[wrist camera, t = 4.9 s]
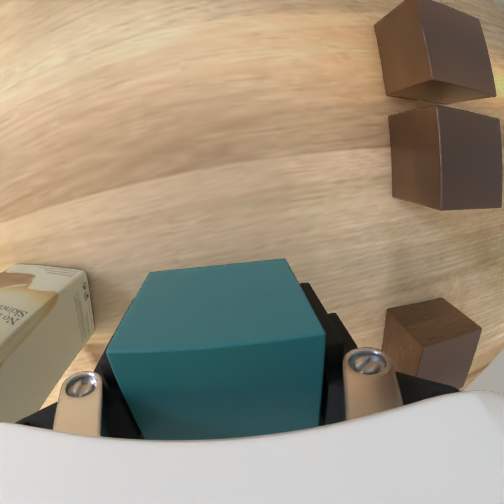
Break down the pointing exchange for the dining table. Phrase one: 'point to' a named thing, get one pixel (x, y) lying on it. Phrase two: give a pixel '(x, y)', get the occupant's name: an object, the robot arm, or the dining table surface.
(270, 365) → the teal block
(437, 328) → the line block
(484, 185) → the line block
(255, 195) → the dining table surface
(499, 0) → the dining table surface
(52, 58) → the dining table surface
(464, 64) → the line block
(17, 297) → the cosmetic box
